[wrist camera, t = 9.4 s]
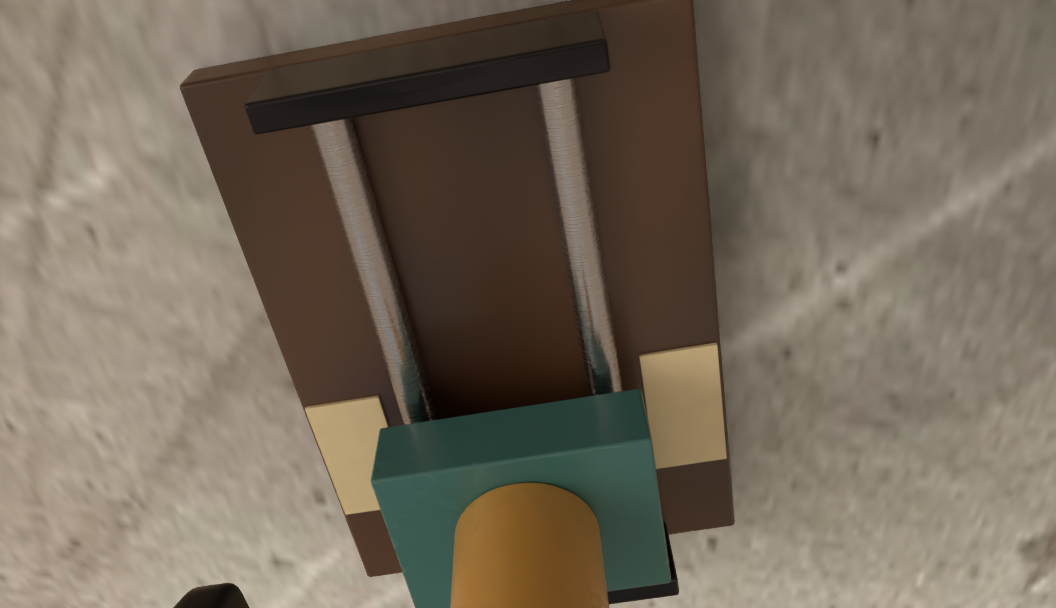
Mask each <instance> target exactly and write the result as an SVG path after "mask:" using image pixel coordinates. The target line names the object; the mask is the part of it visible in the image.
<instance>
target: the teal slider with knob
mask: <svg viewBox="0 0 1056 608" xmlns="http://www.w3.org/2000/svg"><path fill="white" fill-rule="evenodd" d="M371 485H372V488H373V490H374V493H375V496H376V499H377V502H378V504H379V507H380V510H381V513H382V516H383V518H384V521H385V524H386V527H387V530H388V533H389V535H390V538H391V541H392V544H393V547H394V549H395V552H396V555H397V558H398V561H399V563H400V566H401V569H402V572H403V575H404V577H405V580H406V583H407V586H408V589H409V592H410V594H411V597H412V600H413V603H414V606H415V608H609V602H608V594H607V592H608V591H615V590H622V589H629V588H637V587H644V586H651V585H658V584H665V583H670V581H671V575H670V567H669V560H668V553H667V545H666V538H665V531H664V523H663V516H662V509H661V501H660V494H659V487H658V479H657V472H656V465H655V457H654V450H653V443H652V437H651V432H650V427H649V423H648V418H647V413H646V408H645V404H644V399H643V394H642V391H641V390H640V389H633V390H626V391H620V392H613V393H607V394H600V395H594V396H587V397H581V398H574V399H568V400H561V401H555V402H548V403H542V404H535V405H529V406H522V407H516V408H509V409H503V410H496V411H490V412H483V413H477V414H470V415H464V416H457V417H451V418H444V419H438V420H431V421H425V422H418V423H412V424H405V425H399V426H392V427H386V428H381V429H380V431H379V436H378V442H377V448H376V453H375V459H374V465H373V470H372V476H371Z"/></svg>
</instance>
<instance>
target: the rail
mask: <svg viewBox="0 0 1056 608" xmlns="http://www.w3.org/2000/svg"><path fill="white" fill-rule="evenodd" d="M180 90H181V92H182V95H183V97H184V100H185V103H186V105H187V108H188V110H189V113H190V116H191V118H192V121H193V123H194V126H195V129H196V131H197V134H198V136H199V139H200V141H201V144H202V147H203V149H204V152H205V154H206V157H207V160H208V162H209V165H210V167H211V170H212V173H213V175H214V178H215V180H216V183H217V186H218V188H219V191H220V193H221V196H222V199H223V201H224V204H225V206H226V209H227V212H228V214H229V217H230V219H231V222H232V225H233V227H234V230H235V232H236V235H237V237H238V240H239V243H240V245H241V248H242V250H243V253H244V256H245V258H246V261H247V263H248V266H249V269H250V271H251V274H252V276H253V279H254V282H255V284H256V287H257V289H258V292H259V295H260V297H261V300H262V302H263V305H264V308H265V310H266V313H267V315H268V318H269V321H270V323H271V326H272V328H273V331H274V333H275V336H276V339H277V341H278V344H279V346H280V349H281V352H282V354H283V357H284V359H285V362H286V365H287V367H288V370H289V372H290V375H291V378H292V380H293V383H294V385H295V388H296V391H297V393H298V396H299V398H300V401H301V404H302V406H303V409H304V411H305V414H306V417H307V419H308V422H309V424H310V427H311V430H312V432H313V435H314V437H315V440H316V442H317V445H318V448H319V450H320V453H321V455H322V458H323V461H324V463H325V466H326V468H327V471H328V474H329V476H330V479H331V481H332V484H333V487H334V489H335V492H336V494H337V497H338V500H339V502H340V505H341V507H342V510H343V513H344V515H345V518H346V520H347V523H348V526H349V528H350V531H351V533H352V536H353V538H354V541H355V544H356V546H357V549H358V551H359V554H360V557H361V559H362V562H363V564H364V567H365V570H366V572H367V575H368V576H369V577H373V576H380V575H387V574H394V573H401V572H402V569H401V566H400V563H399V561H398V558H397V555H396V552H395V549H394V547H393V544H392V541H391V538H390V535H389V533H388V530H387V527H386V524H385V521H384V518H383V516H382V513H381V510H380V507H379V504H378V502H377V499H376V496H375V493H374V490H373V488H372V485H371V476H372V470H373V465H374V459H375V453H376V448H377V442H378V436H379V431H380V429H381V428H386V427H392V426H399V425H405V424H412V423H418V422H425V421H431V420H438V419H444V418H451V417H457V416H464V415H470V414H477V413H483V412H490V411H496V410H503V409H509V408H516V407H522V406H529V405H535V404H542V403H548V402H555V401H561V400H568V399H574V398H581V397H587V396H594V395H600V394H607V393H613V392H620V391H626V390H633V389H640V390H641V391H642V394H643V399H644V404H645V408H646V413H647V418H648V423H649V427H650V432H651V437H652V443H653V450H654V457H655V465H656V472H657V479H658V487H659V494H660V501H661V509H662V516H663V523H664V531H665V538H666V545H667V553H668V560H669V567H670V575H671V581H670V583H665V584H658V585H651V586H644V587H637V588H629V589H622V590H615V591H608V592H607V594H608V602H609V604H615V603H622V602H629V601H637V600H644V599H651V598H659V597H666V596H673V595H678V594H679V586H678V579H677V574H676V569H675V564H674V559H673V554H672V549H671V545H670V540H669V534H676V533H683V532H690V531H697V530H704V529H711V528H718V527H725V526H732V525H734V522H735V520H734V507H733V495H732V482H731V470H730V457H729V445H728V432H727V420H726V407H725V395H724V382H723V370H722V357H721V345H720V332H719V320H718V307H717V295H716V282H715V270H714V257H713V245H712V232H711V220H710V207H709V195H708V182H707V170H706V157H705V145H704V132H703V120H702V107H701V95H700V82H699V70H698V57H697V45H696V32H695V20H694V7H693V0H571V1H566V2H560V3H555V4H550V5H544V6H539V7H533V8H528V9H522V10H517V11H512V12H506V13H501V14H495V15H490V16H485V17H479V18H474V19H468V20H463V21H458V22H452V23H447V24H441V25H436V26H431V27H425V28H420V29H414V30H409V31H404V32H398V33H393V34H387V35H382V36H376V37H371V38H366V39H360V40H355V41H349V42H344V43H339V44H333V45H328V46H322V47H317V48H312V49H306V50H301V51H295V52H290V53H285V54H279V55H274V56H268V57H263V58H258V59H252V60H247V61H241V62H236V63H230V64H225V65H220V66H214V67H209V68H203V69H198V70H194V71H193V72H192V73H191V74H190V75H189V76H188V77H187V78H186V79H185V80H184V82H183V83H182V84H181V85H180Z"/></svg>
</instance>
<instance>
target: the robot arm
mask: <svg viewBox="0 0 1056 608" xmlns="http://www.w3.org/2000/svg"><path fill="white" fill-rule="evenodd" d="M174 608H249V606H248V604H247V602H246V600H245V598H244V596H243V594H242V592H241V591H240V589H239V588H238V587H237V586H236V585H234V584H232V583H223V584H216V585H209V586H202V587H197V588H194V589H192V590H191V591H189V592H188V593H187V594H186V595H185V596H183V598H182V599H181V600H180V601H179V602H178V603H177V604H176V605H175V606H174Z"/></svg>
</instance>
